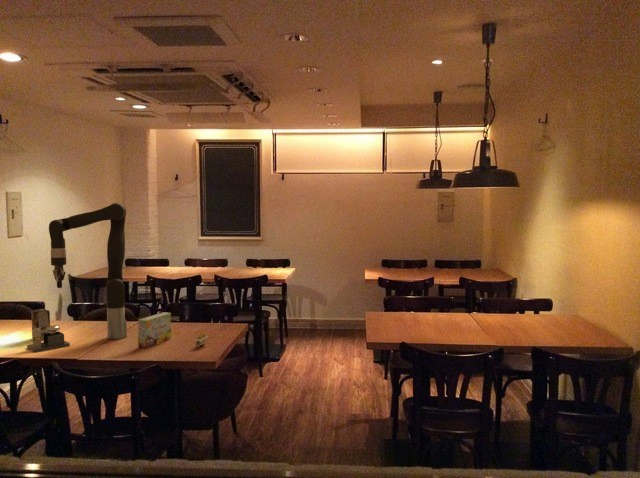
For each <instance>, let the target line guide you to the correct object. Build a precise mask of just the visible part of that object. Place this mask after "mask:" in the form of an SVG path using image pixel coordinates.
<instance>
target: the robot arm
mask: <svg viewBox="0 0 640 478" xmlns="http://www.w3.org/2000/svg"><path fill="white" fill-rule="evenodd" d="M126 216H127V209H126V206H124V205H123V204H122V203H120V202H119V203H118V202H116V203H111V204H110V205H107V206H105V207H103V208H100V209H97V210H93V211H89V212H84V213H79V214H74V215H71V216H68V217H64V218H60V219H53V220H51V221H50V222H49V224H48V233H49V238H50V265H51V266H54V267H53V270H52V273H53V277H54V280H55V281H56V288H57V289H61V288H63V281H64V280H65V276H66V271H65V269H64V266H66V265H67V250H66V239H65V237H64V232H66V231H71V230H72V229H79V228H81V227H82V228H84V227H87V226H89V225H93V224H95V223H98V222H102V221H103V222H105V221H110V228H109V229H110V230H109V234H108V238H107V246H106V248H107V249H106V259H107V268H108V269H107V270H108V271H107V272H108V273H107V279H106V285H105V286H106V287H105V288H106V321H107V322H106V323H107V326H106V327H107V328H106V329H107V333H106V334H107V335H106V336H107V339H108V340H120V339H125V338H127V337H128V335H127V331H128V330H127V319H126V317H125V315H126V314H125V313H126V312H125V308H126V307H125V303H126V297H125V294H126V293H125V291H126V289H125V288H126V287H125V283H124V280H123V267H124V263H125V255H126V253H125V252H126V239H125V238H126V235H125V224H126V219H127V218H126Z"/></svg>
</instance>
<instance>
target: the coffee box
mask: <svg viewBox="0 0 640 478" xmlns="http://www.w3.org/2000/svg"><path fill="white" fill-rule="evenodd" d="M30 311H31V312H30V313H31V314H30V315H31V333H32V334H31V337H32V340H33V329H34V328H41V331H42V330H47V327H48V326H51V317H50V316H51V314H50V313H51V310H49V309H45V308H38V309H33V310H30ZM45 333H51V332H41V342H43V334H45Z"/></svg>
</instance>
